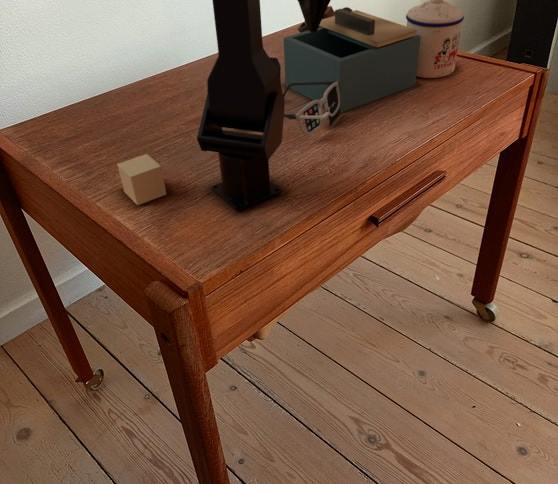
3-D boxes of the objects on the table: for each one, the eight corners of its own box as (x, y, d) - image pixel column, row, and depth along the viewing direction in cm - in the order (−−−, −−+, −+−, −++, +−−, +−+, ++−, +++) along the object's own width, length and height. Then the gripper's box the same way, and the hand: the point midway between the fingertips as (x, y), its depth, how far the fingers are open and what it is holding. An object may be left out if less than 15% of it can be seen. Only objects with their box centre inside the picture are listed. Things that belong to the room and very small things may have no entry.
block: (166, 194, 73) (161, 166, 70) (137, 205, 71) (130, 176, 69) (152, 181, 76) (146, 153, 73) (124, 192, 74) (117, 163, 71)
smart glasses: (328, 148, 79) (321, 113, 76) (244, 144, 87) (235, 112, 84) (367, 111, 86) (362, 78, 83) (286, 111, 94) (279, 80, 91)
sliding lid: (416, 35, 89) (418, 15, 87) (377, 47, 86) (378, 27, 84) (356, 14, 98) (356, -4, 96) (318, 25, 95) (318, 7, 93)
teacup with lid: (440, 83, 95) (451, 6, 87) (391, 72, 99) (397, -2, 92) (472, 60, 102) (484, -13, 94) (424, 51, 106) (433, -20, 99)
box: (415, 85, 95) (420, 35, 90) (338, 113, 88) (340, 61, 83) (358, 62, 104) (360, 15, 99) (285, 86, 97) (283, 37, 92)
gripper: (336, -111, 83) (333, 8, 93) (217, -97, 76) (228, 30, 86) (386, -104, 75) (377, 24, 85) (260, -88, 68) (266, 50, 78)
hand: (312, 31), depth 84 cm, fingers closed
